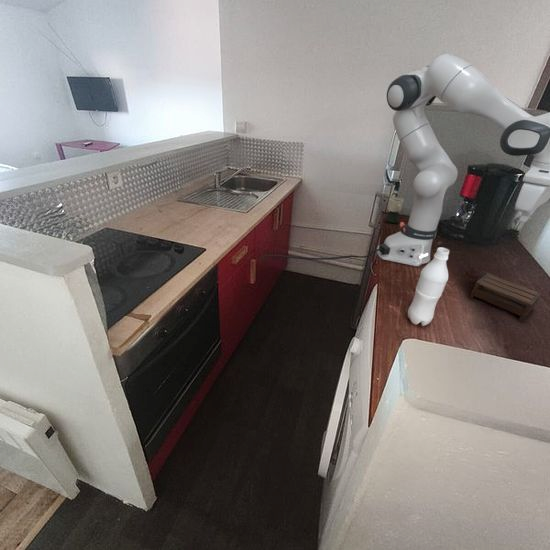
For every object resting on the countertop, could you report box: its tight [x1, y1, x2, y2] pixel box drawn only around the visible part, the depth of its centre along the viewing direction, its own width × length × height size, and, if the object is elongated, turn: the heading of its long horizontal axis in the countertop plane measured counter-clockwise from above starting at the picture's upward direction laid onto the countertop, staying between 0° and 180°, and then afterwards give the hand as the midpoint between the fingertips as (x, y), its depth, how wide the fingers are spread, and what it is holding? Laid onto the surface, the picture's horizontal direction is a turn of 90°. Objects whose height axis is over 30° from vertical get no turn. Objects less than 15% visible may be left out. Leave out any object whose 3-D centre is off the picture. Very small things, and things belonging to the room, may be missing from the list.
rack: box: [468, 272, 542, 322], centre depth 100 cm, size 10×16×7 cm, turn 38°
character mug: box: [385, 196, 405, 224], centre depth 161 cm, size 11×7×13 cm, turn 2°
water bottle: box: [407, 246, 450, 327], centre depth 86 cm, size 7×7×25 cm
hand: (524, 220), depth 88 cm, fingers closed
